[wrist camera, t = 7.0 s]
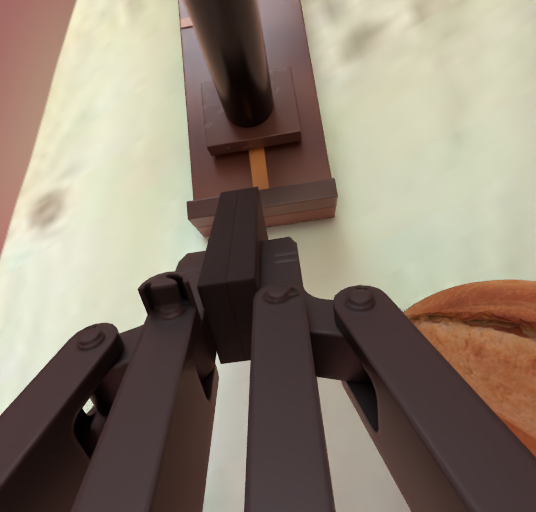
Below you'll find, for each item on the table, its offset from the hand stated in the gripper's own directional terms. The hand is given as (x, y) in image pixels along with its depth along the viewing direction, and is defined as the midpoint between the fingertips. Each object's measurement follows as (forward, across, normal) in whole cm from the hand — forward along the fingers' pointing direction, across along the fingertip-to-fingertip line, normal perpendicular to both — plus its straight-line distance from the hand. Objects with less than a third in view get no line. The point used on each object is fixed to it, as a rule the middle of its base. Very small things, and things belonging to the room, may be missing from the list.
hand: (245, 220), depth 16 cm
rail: (+18, 0, +3) cm, 19 cm away
